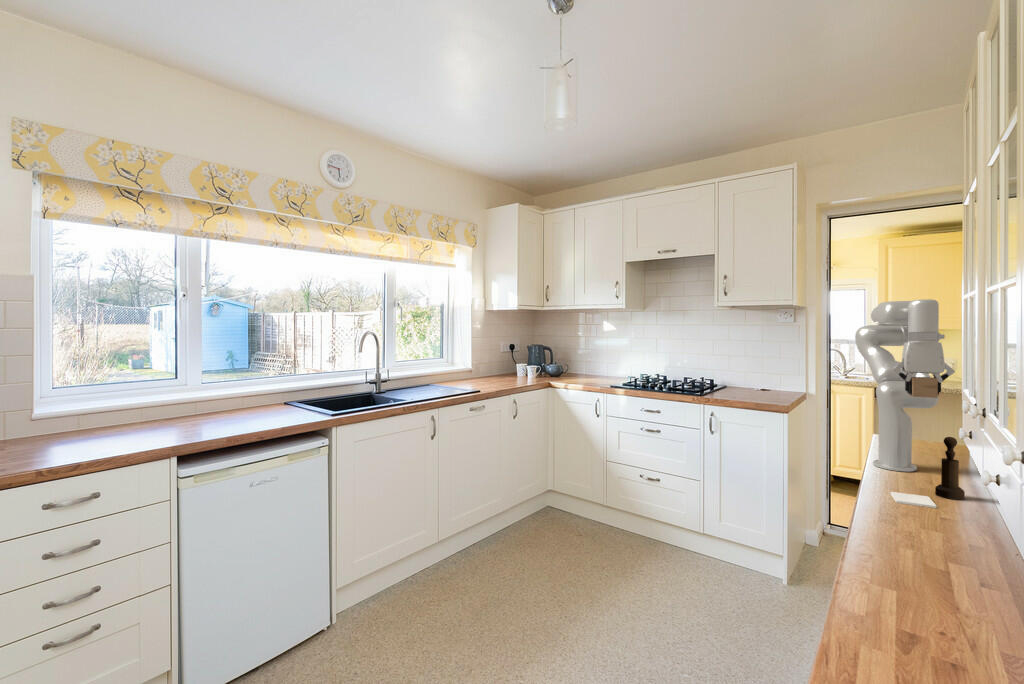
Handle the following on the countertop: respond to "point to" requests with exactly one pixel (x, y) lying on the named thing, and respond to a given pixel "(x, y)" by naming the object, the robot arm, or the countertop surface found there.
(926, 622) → the countertop surface
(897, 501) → the tile pad
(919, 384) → the walnut cube
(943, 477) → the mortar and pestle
